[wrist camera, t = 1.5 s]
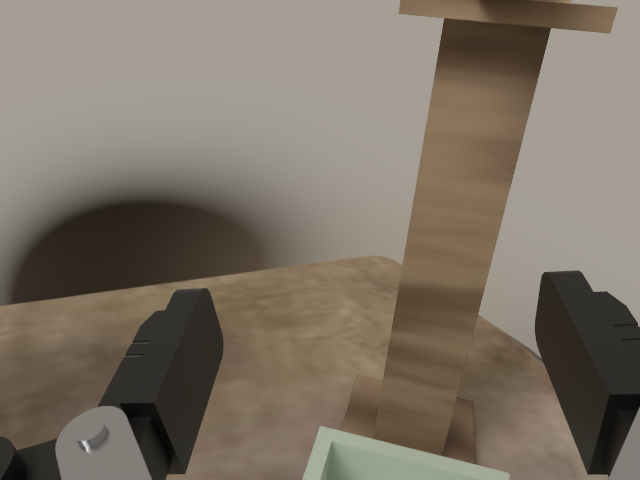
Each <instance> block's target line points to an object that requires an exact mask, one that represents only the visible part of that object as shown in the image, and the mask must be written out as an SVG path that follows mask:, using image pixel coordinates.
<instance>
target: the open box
mask: <svg viewBox="0 0 640 480" xmlns="http://www.w3.org/2000/svg"><path fill="white" fill-rule="evenodd" d="M302 480H510V476H509V473H507V472H503V471H499V470H495V469H491V468H487V467H483V466H479V465H475V464H471V463H467V462H463V461H459V460H455V459H451V458H447V457H443V456H439V455H435V454H431V453H427V452H423V451H419V450H415V449H411V448H407V447H403V446H399V445H395V444H391V443H387V442H383V441H379V440H375V439H371V438H367V437H363V436H359V435H355V434H351V433H347V432H343V431H339V430H335V429H331V428H327V427H323V426H320V428H319V431H318V434H317V437H316V440H315V443H314V446H313V449H312V452H311V455H310V458H309V461H308V464H307V467H306V470H305V473H304V476H303V479H302Z"/></svg>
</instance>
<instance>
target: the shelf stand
mask: <svg viewBox="0 0 640 480" xmlns="http://www.w3.org/2000/svg"><path fill="white" fill-rule="evenodd" d="M617 9H618V8H616V7H603V6H593V5H581V4H569V3H557V2H545V1H533V0H401V1H400V9H399V14H408V15H417V16H428V17H439V18H444V23H443V29H442V35H441V41H440V47H439V53H438V59H437V65H436V71H435V76H434V82H433V89H432V94H431V101H430V106H429V112H428V118H427V124H426V130H425V136H424V142H423V147H422V153H421V159H420V166H419V171H418V177H417V183H416V190H415V195H414V201H413V207H412V213H411V219H410V224H409V230H408V236H407V242H406V248H405V254H404V260H403V266H402V272H401V277H400V283H399V289H398V295H397V301H396V307H395V313H394V319H393V325H392V331H391V337H390V343H389V348H388V354H387V360H386V366H385V372H384V378H383V381H380V380H376V379H372V378H367V377H363V376H358V375H357V377H356V380H355V384H354V387H353V391H352V395H351V398H350V402H349V405H348V409H347V412H346V416H345V420H344V423H343V427H342V430H341V431H343V432H347V433H351V434H355V435H359V436H363V437H367V438H371V439H375V440H379V441H383V442H387V443H391V444H395V445H399V446H403V447H407V448H411V449H415V450H419V451H423V452H427V453H431V454H435V455H439V456H443V457H447V458H451V459H455V460H459V461H463V462H467V463H471V464H475V459H474V424H473V401H468V400H464V399H460V398H457V394H458V391H459V387H460V383H461V379H462V375H463V371H464V367H465V363H466V359H467V355H468V351H469V347H470V343H471V340H472V336H473V332H474V328H475V324H476V320H477V316H478V312H479V308H480V304H481V300H482V296H483V292H484V289H485V285H486V280H487V277H488V273H489V269H490V265H491V261H492V257H493V253H494V249H495V245H496V241H497V238H498V234H499V230H500V226H501V222H502V218H503V214H504V210H505V206H506V202H507V198H508V194H509V191H510V187H511V183H512V179H513V175H514V171H515V167H516V162H517V159H518V155H519V151H520V147H521V143H522V140H523V136H524V132H525V127H526V124H527V119H528V116H529V112H530V108H531V104H532V100H533V96H534V92H535V88H536V85H537V80H538V77H539V73H540V69H541V65H542V61H543V57H544V53H545V49H546V45H547V41H548V38H549V33H550V30H551V28H558V29H568V30H579V31H589V32H590V31H591V32H600V33H610V32H611V28H612V25H613V22H614V19H615V15H616V12H617Z"/></svg>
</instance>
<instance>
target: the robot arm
mask: <svg viewBox="0 0 640 480" xmlns="http://www.w3.org/2000/svg"><path fill="white" fill-rule="evenodd" d="M535 335H536V341H537V346H538V349H539V352H540V354H541V357H542V359H543V362H544V364H545V367H546V370H547V372H548V375H549V377H550V380H551V382H552V385H553V387H554V390H555V392H556V395H557V397H558V400H559V402H560V405H561V408H562V410H563V413H564V415H565V418H566V420H567V423H568V425H569V428H570V430H571V433H572V435H573V438H574V440H575V443H576V446H577V448H578V451H579V453H580V456H581V458H582V461H583V463H584V466H585V468H586V471H587V473H588V474H608V477H609V479H608V480H640V327H638V323H637V322H636V320H635V318H634V317H633V315H632V314H631V312H630V311H629V309H628V308H627V306H626V305H624V304H623V303H621V302H620V301H619V300H617V299H616V298H615V297H613V296H612V295H611V294H609V293H608V292H593V290H592V289H591V287H590V285H589V284H588V282H587V280H586V279H585V277H584V275H583V274H582V273H581V272H580V271H558V272H544V274H543V275H542V278H541V284H540V291H539V298H538V305H537V312H536V319H535ZM125 355H126V357H125V358H123V360H122V362H121V364H120V366H119V368H118V369H117V371H116V373H115V375H114V377H113V379H112V381H111V383H110V384H109V386H108V388H107V390H106V392H105V394H104V396H103V397H102V399H101V401H100V403H99V405H98V407H96V408H93V409H90V410H88V411H86V412H84V413H82V414H80V415H79V416H77V417H76V418H74V419H73V420H72V421H71V422H70V423H69V424H68V425H67V426H66V427H65V428H64V429H63V431H62V432H61V433H60V435H59V437H58V439H55V440H52V441H48V442H45V443H41V444H38V445H35V446H31V447H28V448H24V449H21V450H18V451H17V450H16V448H15V447H14V445H13V444H12V443H11V441H9V440H8V439H6V438H4V437H0V480H166V477H167V474H185V473H186V470H187V467H188V463H189V460H190V457H191V454H192V451H193V448H194V444H195V441H196V438H197V435H198V432H199V429H200V425H201V422H202V419H203V416H204V413H205V410H206V407H207V403H208V400H209V397H210V394H211V391H212V388H213V384H214V381H215V378H216V375H217V372H218V369H219V365H220V362H221V359H222V355H223V336H222V331H221V328H220V325H219V321H218V318H217V314H216V311H215V308H214V304H213V301H212V298H211V295H210V292H209V290H208V289H206V288H201V289H181V290H176V291H175V292H174V294H173V296H172V298H171V300H170V302H169V304H168V306H167V308H166V310H163V311H156V312H155V313H154V314H153V315H152V316H150V317H149V318H148V319H147V320H146V321H145V322H144V323H143V324H142V325H141V326H140V328H139V330H138V332H137V334H136V336H135V338H134V340H133V344H132V345H130V347H129V349H128V351H127V353H126V354H125Z"/></svg>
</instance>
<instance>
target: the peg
mask: <svg viewBox="0 0 640 480" xmlns="http://www.w3.org/2000/svg"><path fill="white" fill-rule="evenodd" d="M533 1H545V2H557V3H569V4H571V1H572V0H533Z"/></svg>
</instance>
